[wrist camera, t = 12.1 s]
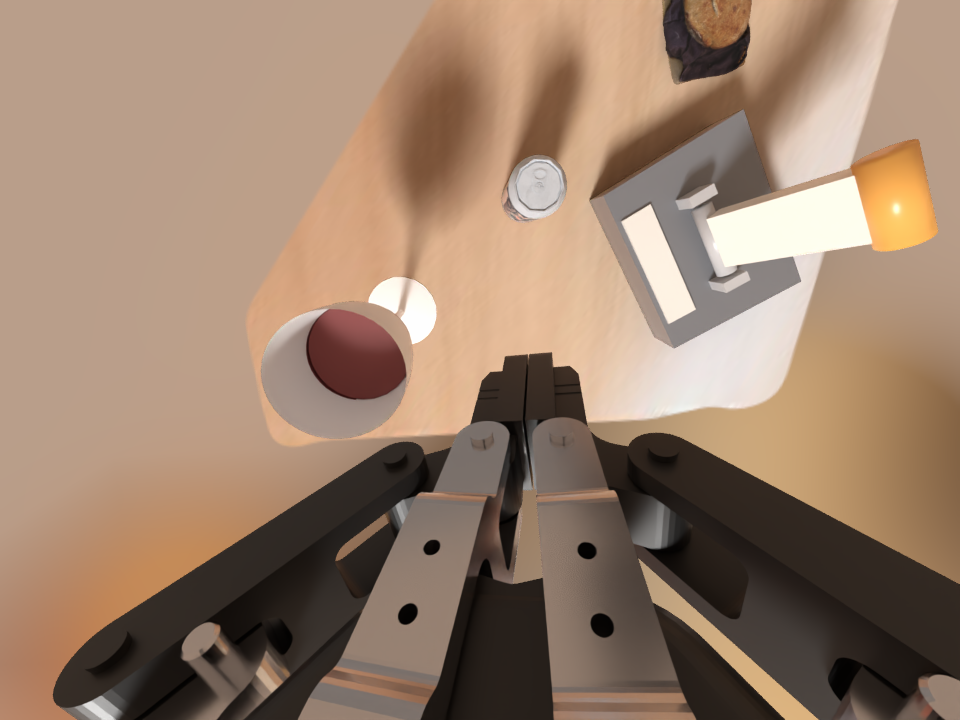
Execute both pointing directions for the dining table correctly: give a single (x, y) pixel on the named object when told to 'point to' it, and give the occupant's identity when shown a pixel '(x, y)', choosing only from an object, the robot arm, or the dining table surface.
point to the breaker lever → (827, 213)
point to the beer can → (534, 189)
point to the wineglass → (348, 360)
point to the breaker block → (689, 232)
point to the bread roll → (705, 37)
